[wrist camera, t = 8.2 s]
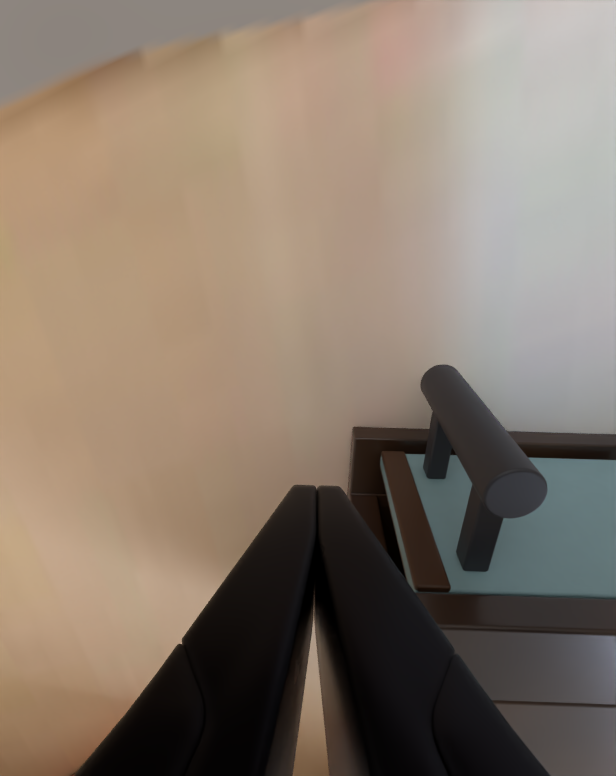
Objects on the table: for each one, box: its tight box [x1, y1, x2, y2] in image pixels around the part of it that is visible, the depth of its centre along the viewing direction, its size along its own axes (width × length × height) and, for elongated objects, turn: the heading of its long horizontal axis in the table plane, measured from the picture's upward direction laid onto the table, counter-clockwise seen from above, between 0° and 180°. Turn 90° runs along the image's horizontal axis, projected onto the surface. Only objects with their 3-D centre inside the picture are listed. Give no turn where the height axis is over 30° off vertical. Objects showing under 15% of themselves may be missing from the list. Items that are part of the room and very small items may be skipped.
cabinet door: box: [380, 365, 616, 599], centre depth 11 cm, size 8×4×5 cm, turn 89°
